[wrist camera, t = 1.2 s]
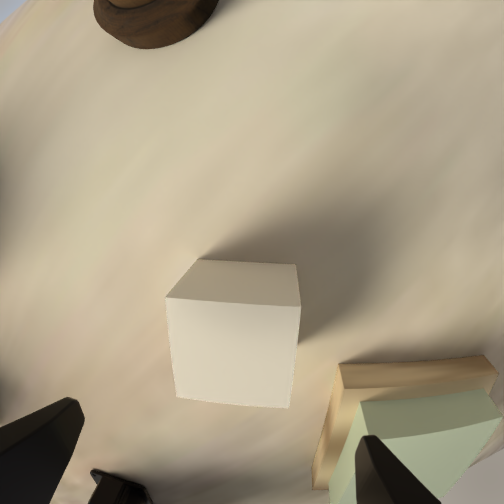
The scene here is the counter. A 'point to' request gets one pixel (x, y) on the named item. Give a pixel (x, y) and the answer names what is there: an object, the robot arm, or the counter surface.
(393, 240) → the counter surface
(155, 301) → the counter surface
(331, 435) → the tower base
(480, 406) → the tower top
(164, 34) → the wooden chess piece
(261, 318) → the cube
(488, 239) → the counter surface
